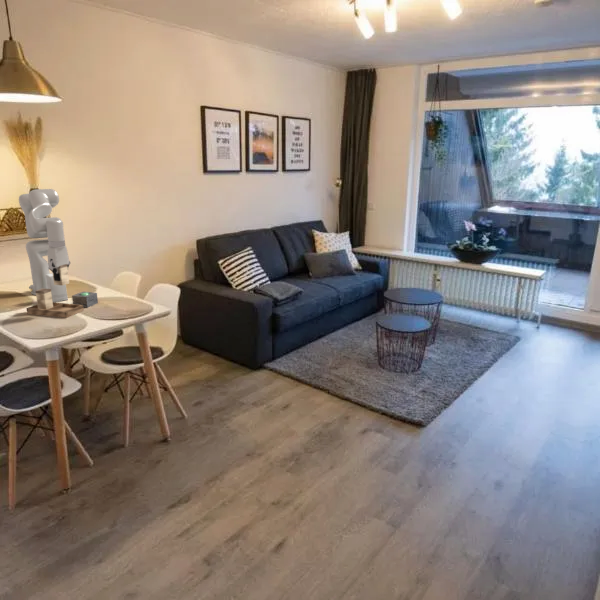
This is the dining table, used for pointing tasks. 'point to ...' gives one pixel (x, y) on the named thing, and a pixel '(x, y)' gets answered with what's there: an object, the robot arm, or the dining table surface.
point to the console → (85, 299)
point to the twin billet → (44, 298)
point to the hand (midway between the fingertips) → (61, 279)
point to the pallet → (57, 310)
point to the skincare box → (56, 289)
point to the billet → (62, 275)
